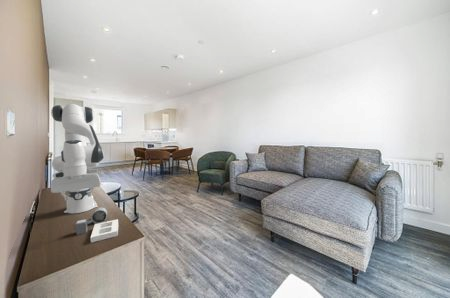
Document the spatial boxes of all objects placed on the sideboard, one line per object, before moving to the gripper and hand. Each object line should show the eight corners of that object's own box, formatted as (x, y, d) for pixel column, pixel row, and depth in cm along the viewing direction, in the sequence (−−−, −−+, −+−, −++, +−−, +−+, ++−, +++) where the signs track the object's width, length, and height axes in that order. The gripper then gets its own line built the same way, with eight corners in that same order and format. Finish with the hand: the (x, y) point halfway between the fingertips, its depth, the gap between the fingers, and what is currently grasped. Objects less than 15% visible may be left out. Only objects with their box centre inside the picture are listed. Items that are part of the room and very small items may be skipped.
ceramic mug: (107, 216, 117) (106, 204, 116) (107, 221, 110) (106, 208, 109) (87, 221, 112) (85, 209, 111) (85, 226, 105) (83, 213, 104)
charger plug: (78, 231, 99) (77, 220, 98) (87, 229, 101) (86, 218, 100) (76, 235, 95) (75, 223, 95) (86, 232, 97) (85, 221, 97)
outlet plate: (95, 228, 102) (94, 224, 101) (118, 223, 107) (118, 219, 107) (90, 242, 88) (90, 237, 87) (117, 235, 93) (117, 231, 93)
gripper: (100, 168, 104) (103, 193, 104) (52, 173, 94) (55, 200, 95) (99, 169, 98) (102, 195, 99) (48, 175, 88) (51, 203, 89)
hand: (78, 198), depth 97 cm, fingers open, 8 cm apart
